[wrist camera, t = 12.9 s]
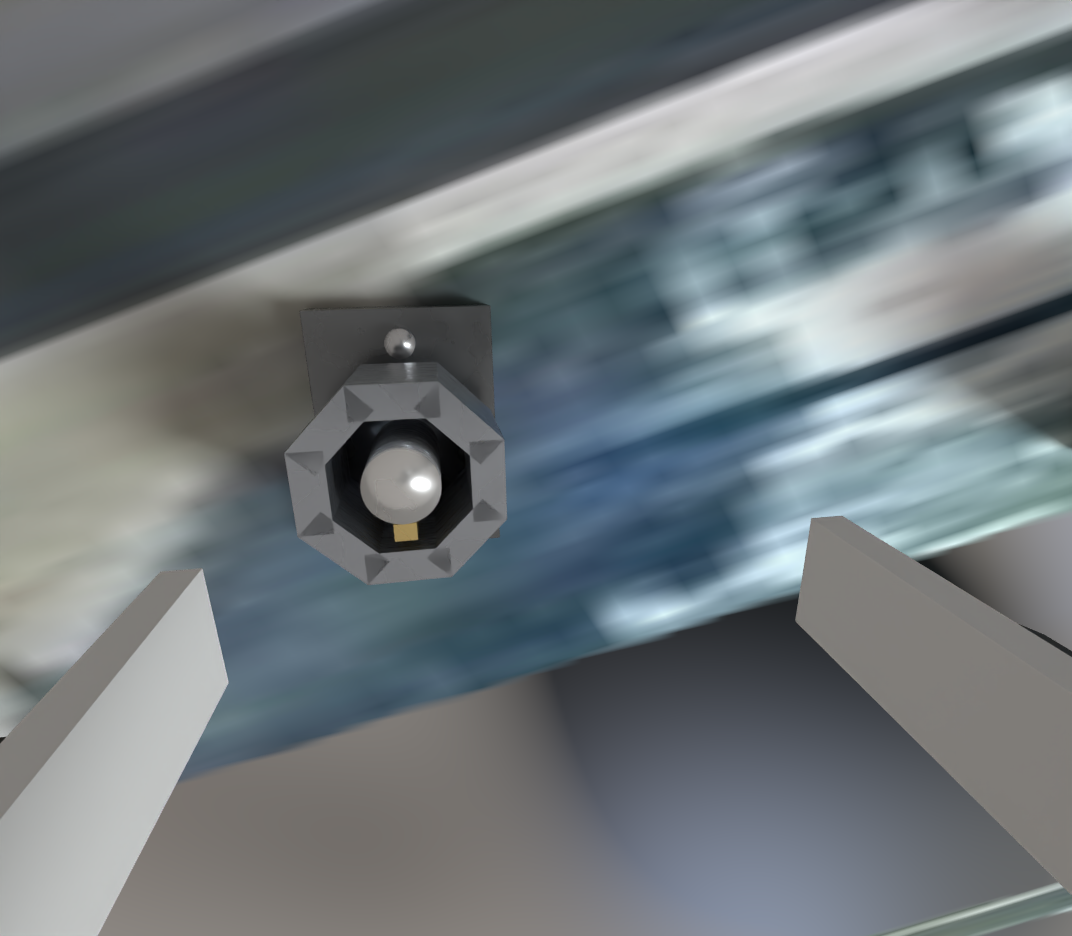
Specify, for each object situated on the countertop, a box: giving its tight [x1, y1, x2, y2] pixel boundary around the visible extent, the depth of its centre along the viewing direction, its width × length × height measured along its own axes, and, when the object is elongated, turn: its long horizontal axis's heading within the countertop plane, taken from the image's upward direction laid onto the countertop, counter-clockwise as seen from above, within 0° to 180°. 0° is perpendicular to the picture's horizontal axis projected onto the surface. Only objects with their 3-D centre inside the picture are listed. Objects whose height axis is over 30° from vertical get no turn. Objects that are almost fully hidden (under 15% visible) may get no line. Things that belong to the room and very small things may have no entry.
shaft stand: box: [300, 304, 500, 542], centre depth 30 cm, size 14×10×11 cm
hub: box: [284, 361, 507, 585], centre depth 27 cm, size 9×9×6 cm
